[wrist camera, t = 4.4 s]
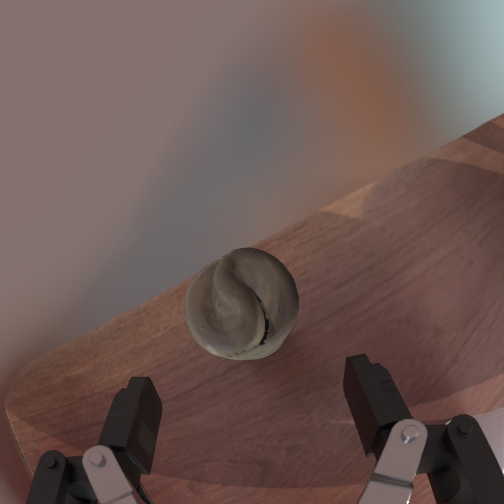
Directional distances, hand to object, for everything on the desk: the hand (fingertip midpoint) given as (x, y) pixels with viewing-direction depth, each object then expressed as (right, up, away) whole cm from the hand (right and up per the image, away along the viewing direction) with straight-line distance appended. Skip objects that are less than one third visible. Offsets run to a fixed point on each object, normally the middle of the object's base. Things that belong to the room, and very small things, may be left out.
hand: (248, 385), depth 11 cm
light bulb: (0, -2, +16) cm, 16 cm away
